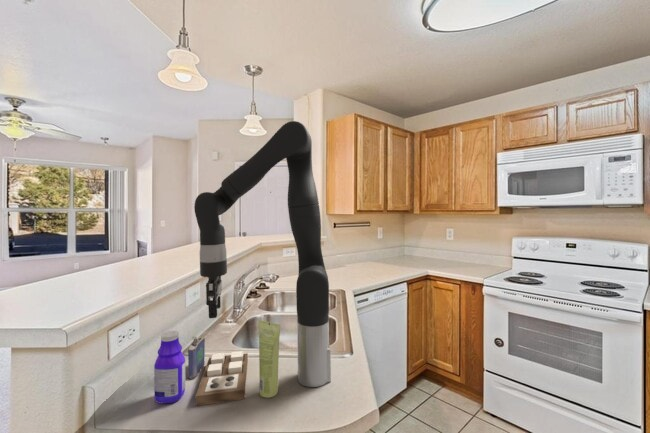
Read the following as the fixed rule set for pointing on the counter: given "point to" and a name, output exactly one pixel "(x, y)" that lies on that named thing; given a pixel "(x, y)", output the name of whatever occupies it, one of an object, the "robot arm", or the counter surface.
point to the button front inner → (235, 367)
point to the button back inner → (237, 356)
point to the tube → (268, 358)
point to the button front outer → (214, 370)
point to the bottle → (169, 369)
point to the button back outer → (218, 358)
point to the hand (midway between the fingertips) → (215, 312)
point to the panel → (222, 384)
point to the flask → (196, 357)
